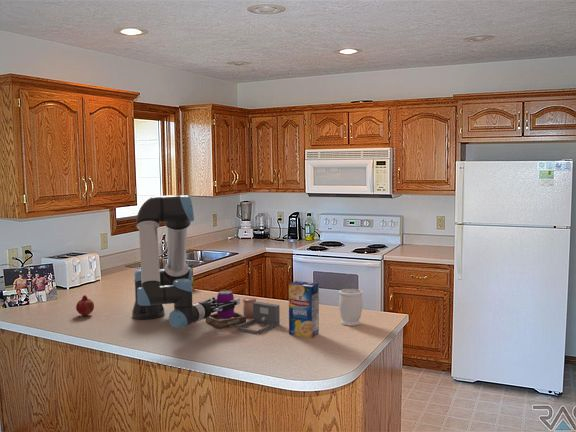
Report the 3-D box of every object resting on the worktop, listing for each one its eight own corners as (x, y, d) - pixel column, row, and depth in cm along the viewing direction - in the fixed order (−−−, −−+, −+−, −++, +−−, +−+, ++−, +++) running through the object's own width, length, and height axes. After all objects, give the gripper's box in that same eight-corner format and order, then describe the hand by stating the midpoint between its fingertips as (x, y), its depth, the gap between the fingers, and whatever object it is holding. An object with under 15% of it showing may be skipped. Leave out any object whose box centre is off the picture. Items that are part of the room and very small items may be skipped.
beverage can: (233, 319, 244) (232, 293, 242) (216, 319, 244) (215, 293, 243) (235, 314, 251) (234, 289, 250) (218, 315, 251) (218, 289, 250)
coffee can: (196, 285, 320) (195, 262, 319) (189, 290, 310) (188, 266, 309) (179, 285, 322) (179, 262, 321) (172, 289, 312) (172, 265, 311)
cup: (240, 315, 258) (240, 299, 257) (251, 313, 262) (251, 296, 261) (248, 318, 253) (247, 301, 252) (259, 316, 257) (258, 299, 256)
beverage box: (311, 338, 225) (311, 286, 222) (288, 334, 230) (288, 284, 228) (319, 333, 230) (318, 283, 228) (296, 330, 236) (296, 280, 233)
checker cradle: (235, 329, 236) (235, 310, 236) (257, 320, 250) (256, 301, 249) (258, 334, 230) (258, 314, 229) (279, 324, 244) (279, 305, 243)
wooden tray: (205, 321, 249) (205, 315, 248) (231, 316, 257) (231, 310, 257) (220, 328, 238) (220, 322, 238) (246, 322, 247) (246, 316, 247)
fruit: (97, 315, 261) (96, 295, 260) (81, 318, 255) (80, 298, 254) (89, 312, 266) (88, 292, 265) (73, 315, 261) (72, 295, 259)
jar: (364, 321, 248) (364, 289, 246) (359, 327, 238) (360, 294, 236) (341, 319, 251) (341, 287, 250) (336, 325, 241) (336, 293, 240)
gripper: (181, 316, 237) (215, 304, 257) (218, 323, 227) (249, 310, 246) (181, 299, 237) (214, 289, 256) (217, 306, 226) (249, 294, 245)
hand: (231, 299), depth 251 cm, fingers closed on beverage can, 8 cm apart
